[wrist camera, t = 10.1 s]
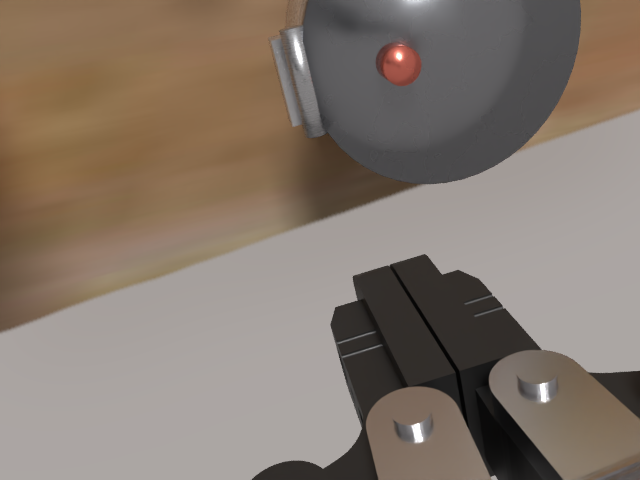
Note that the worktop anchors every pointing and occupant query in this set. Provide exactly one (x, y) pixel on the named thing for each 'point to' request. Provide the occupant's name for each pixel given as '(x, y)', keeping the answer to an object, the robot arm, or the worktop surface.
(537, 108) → the lid
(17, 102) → the worktop surface
